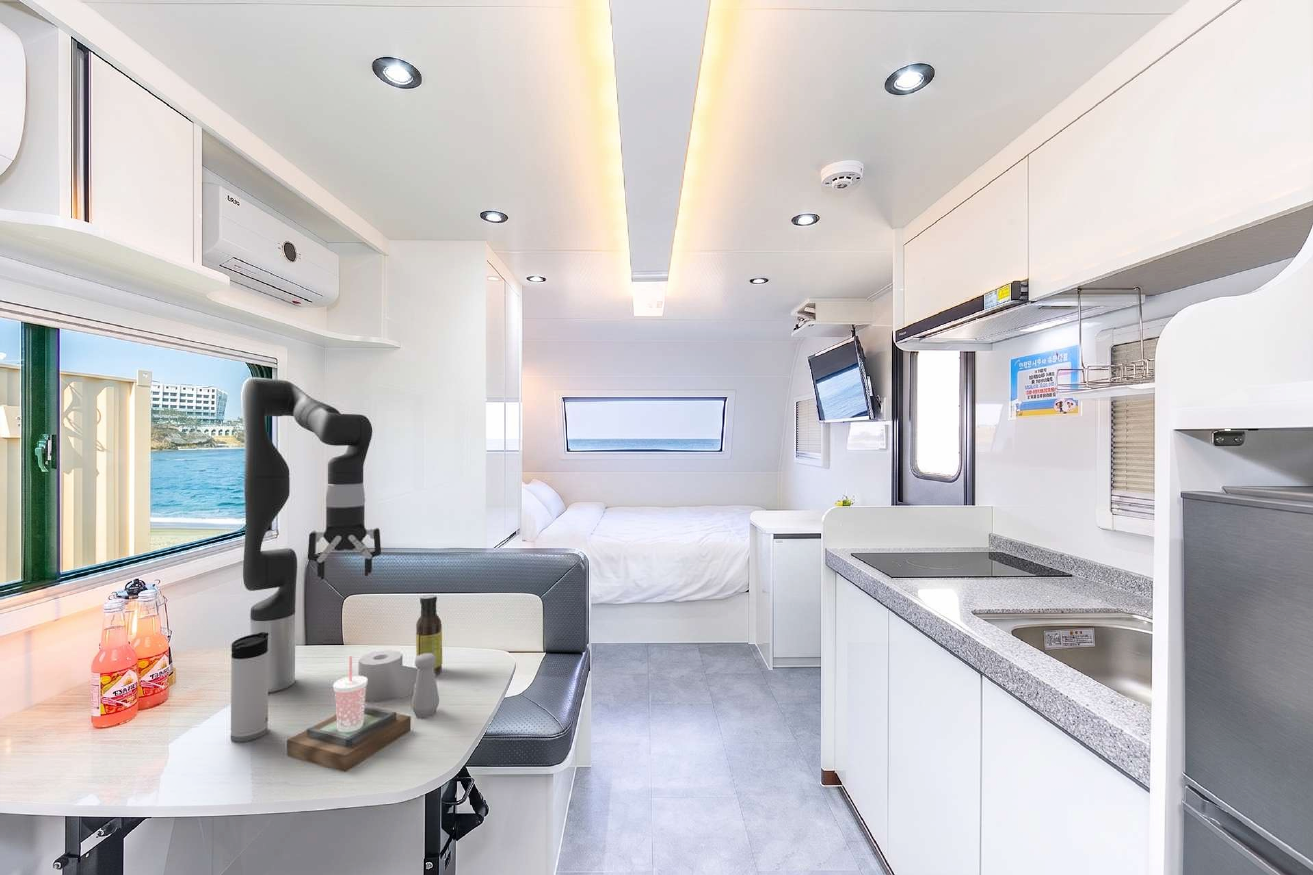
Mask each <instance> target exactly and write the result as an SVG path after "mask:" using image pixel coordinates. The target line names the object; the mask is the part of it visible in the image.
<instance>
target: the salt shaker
mask: <svg viewBox="0 0 1313 875" xmlns="http://www.w3.org/2000/svg"><path fill="white" fill-rule="evenodd" d="M435 663H436V656H435V655H434V654H432V653H425V654H421V655H419V656H417V657H416V656H415V660H414V666H415V668H418V672H417V678H416V683H415V686H414V690H413V693H412V694H413V695H412V699H411V704H410V706H411V709H412V711H413V713H414V715H415V718H418V719H419V718H420V719H425V718H426V719H427V718H429V717H432V716H434V714H435V713H436V712H437V708H438V707H439V704H440V696H439V690H438V685H437V680H436V675H435V673H434V667H433V666H434V665H435Z"/></svg>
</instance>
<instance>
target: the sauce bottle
mask: <svg viewBox="0 0 1313 875" xmlns="http://www.w3.org/2000/svg"><path fill="white" fill-rule="evenodd" d="M437 601H438V596H437V595H436V594H425V595H421V596H420V598H419V603H420V616H419V617H418V620H417V621H416V625H415V626H416V627H415V628H416V632H415V648H416V649H415V650H416V651H415V652H416V653H415V654H416V655H415V658H416V657H417V656H419V655H421V654H425V653H432V654H434V655H435V656H436V663H435V665H434V666H433V667H434V673H435V676H436V675H439V673H441V672H442V669H443V666H442V665H443V633H442V630H443V628H442V626H443V625H442V621H441V618H440V616H439V615H438V614H437V612H438V610H437Z"/></svg>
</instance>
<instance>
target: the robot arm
mask: <svg viewBox="0 0 1313 875" xmlns="http://www.w3.org/2000/svg"><path fill="white" fill-rule="evenodd" d="M240 405H241V406H240V407H241V414H242V416H241V417H242V425H243V434H244V478H243V479H244V484H243V486H244V487H243V488H244V509H245V511H244V513H245V514H244V515H245V529H244V530H245V531H244V533H245V534H244V546H243V547H244V548H243V562H242V563H243V565H242V566H243V567H242V579H243V585H244V587H245V589H246V590H247V591H249V592H250V591H251V592H254V591H262V590H269V589H274V588H275V589H276V588H278V590H277V591H276V592H275V593H273V594H272V595H270V596H268V597H267V598H264V599H262V600H261V601H258V602H256V603H255V604H253V605H252V606H251V608H250V614H249V616H250V617H249V618H250V625H249V627H250V628H249V629H250V634H249V635H252V634H259V633H260V632H265V633H268V646H267V647H268V694H269V693H274V692H278V691H282V690H284V689H287V688H289V687H291V686H292V685H294V683H295V681H296V599H297V598H296V596H297V593H296V591H297V577H298V557H297V554H296V552H295V550H294V549H292V548H290V547H289V548H278V549H277V548H276V549H270V550H269V549H268V550H262V545H263V542H264V539H265V535H266V534H267V531H268V530H269V529H270V528H269V527H270V526H271V524H272V523H273V521H274V520H275V518H276V517H277V516H278V514H279V513H280V512H281V510H282V509H283V507H284V506H285V504H286V503H287V501H288V499H289V497H290V493H291V490H290V485H291V484H290V480H291V479H290V478H291V476H290V475H291V474H290V468H289V465H288V463H287V462H286V460H285V459H284V457H283V455H282V454H281V453H280V451H279V450H278V449H277V447H276V446H275V444H274V443H273V442H272V440H271V437H270V436H269V433H268V429H267V424H266V417H286V416H287V417H293V418H294V421H295V422H296V423H297V424H298V425H299V426H300V427H302V428H303V429H305V430H307V431H309V432H312V433H313V434H314V435H315V436H316V437H317V438H318V439H319V441H320V442H321V443H323V444H325V445H329V446H333V447H336V446H337V447H338V446H340V447H342V446H344V447H345V446H347V449H346V450H345V452H344V454H342V455H338V456H336V457H335V456H334V457H332V458H330V459H329V460H328V462H327V489H326V496H325V497H326V498H325V501H326V502H325V504H326V505H325V506H326V507H325V508H326V510H325V512H326V513H325V515H326V516H325V518H326V519H325V523H326V524H325V531H324V532H323V531H318V532H317V531H316V530H313V531H311V532H310V533H309V535H308V549H307V560H308V561H315V562H316V565H317V567H316V568H317V569H316V570H317V571H316V572H317V573H316V575H317V578H320V580H322V581H323V580H325V579H326V559H327V558H328V556H329V555H330V553H332V551H333V550H335V551H338V552H339V551H344V550H345V551H346V550H347V551H354V550H355V549H357V550H358V551H359V552H360V553H361V554H362V555H363V556H364V557H365V558H364V576H365V577H368V576H369V574H371V573H372V571H373V558H375V557H378V556H380V555H381V553H382V546H381V544H382V543H381V530H380V527H375V528H373V529H372V528H370V529H366V527H365V526H366V525H365V511H366V510H365V506H366V505H365V504H366V503H365V502H366V498H365V486H364V465H365V462H366V457H367V454H368V450H369V446H370V444H371V440H372V438H373V437H372V436H373V426H372V423H371V421H370V420H369V418H368V417H367V416H365V415H363V414H359V413H358V414H357V413H342V412H340V411H339V410H338V409H337V408H336V407H334V406H331V405H329V404H327V403H324V402H321V401H319V400H316V399H315V398H314V397H311V396H310V395H308V394H307V393H306V392H304V391H303V390H302V389H300V388H299V387H298V386H297V385H295V384H294V383H292V382H290V381H287V380H284V379H279V378H278V379H275V378H265V377H255V376H254V377H253V376H251V377H249V378H247V379H246V380H245V381H244V383H243V384H242V388H241V393H240ZM367 535H368V536H369V537H370V539H372V540H373V545H374V546H373V547H374V550H370V549H369V547H367V545H366V544H365V543H364V540H365V537H366V536H367ZM322 538H324V540H325V541H326V542H327V543H328V545H327V546H326V547H325V548H324V550H322V552H321V553H320V554H317V553H316V551H317V550H316V549H317V543H319V542H320V540H321V539H322Z"/></svg>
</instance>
